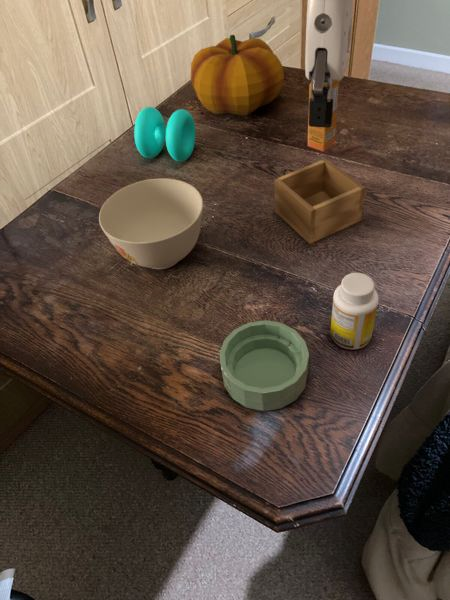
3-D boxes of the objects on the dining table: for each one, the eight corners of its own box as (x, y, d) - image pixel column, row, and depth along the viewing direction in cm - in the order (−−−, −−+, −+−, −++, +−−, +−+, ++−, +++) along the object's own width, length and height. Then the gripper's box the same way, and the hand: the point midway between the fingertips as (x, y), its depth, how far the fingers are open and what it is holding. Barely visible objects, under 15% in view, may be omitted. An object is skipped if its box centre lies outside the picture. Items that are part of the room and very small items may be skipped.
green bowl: (277, 329, 70) (276, 308, 66) (324, 385, 63) (326, 365, 59) (208, 363, 67) (204, 343, 63) (250, 426, 60) (248, 408, 57)
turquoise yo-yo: (182, 172, 99) (174, 125, 92) (138, 166, 102) (127, 121, 95) (200, 145, 105) (193, 100, 98) (157, 141, 108) (148, 97, 101)
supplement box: (305, 147, 76) (307, 81, 68) (318, 137, 77) (321, 72, 70) (323, 153, 74) (327, 87, 67) (336, 143, 76) (341, 78, 68)
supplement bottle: (367, 318, 69) (376, 266, 62) (374, 350, 66) (386, 298, 58) (327, 320, 70) (331, 269, 62) (332, 352, 66) (338, 301, 59)
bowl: (105, 244, 86) (88, 197, 78) (190, 215, 89) (182, 167, 82) (130, 304, 76) (113, 256, 68) (225, 269, 79) (219, 220, 71)
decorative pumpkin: (176, 109, 117) (164, 43, 106) (242, 76, 126) (237, 11, 115) (234, 136, 107) (228, 65, 96) (301, 98, 116) (303, 29, 105)
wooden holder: (323, 191, 90) (325, 158, 85) (361, 220, 84) (365, 187, 79) (274, 211, 88) (274, 179, 83) (309, 244, 81) (311, 211, 76)
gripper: (355, -4, 53) (341, 149, 66) (369, -48, 63) (355, 92, 77) (286, -3, 55) (286, 146, 68) (311, -46, 65) (307, 90, 79)
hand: (322, 116), depth 72 cm, fingers closed on supplement box, 4 cm apart
